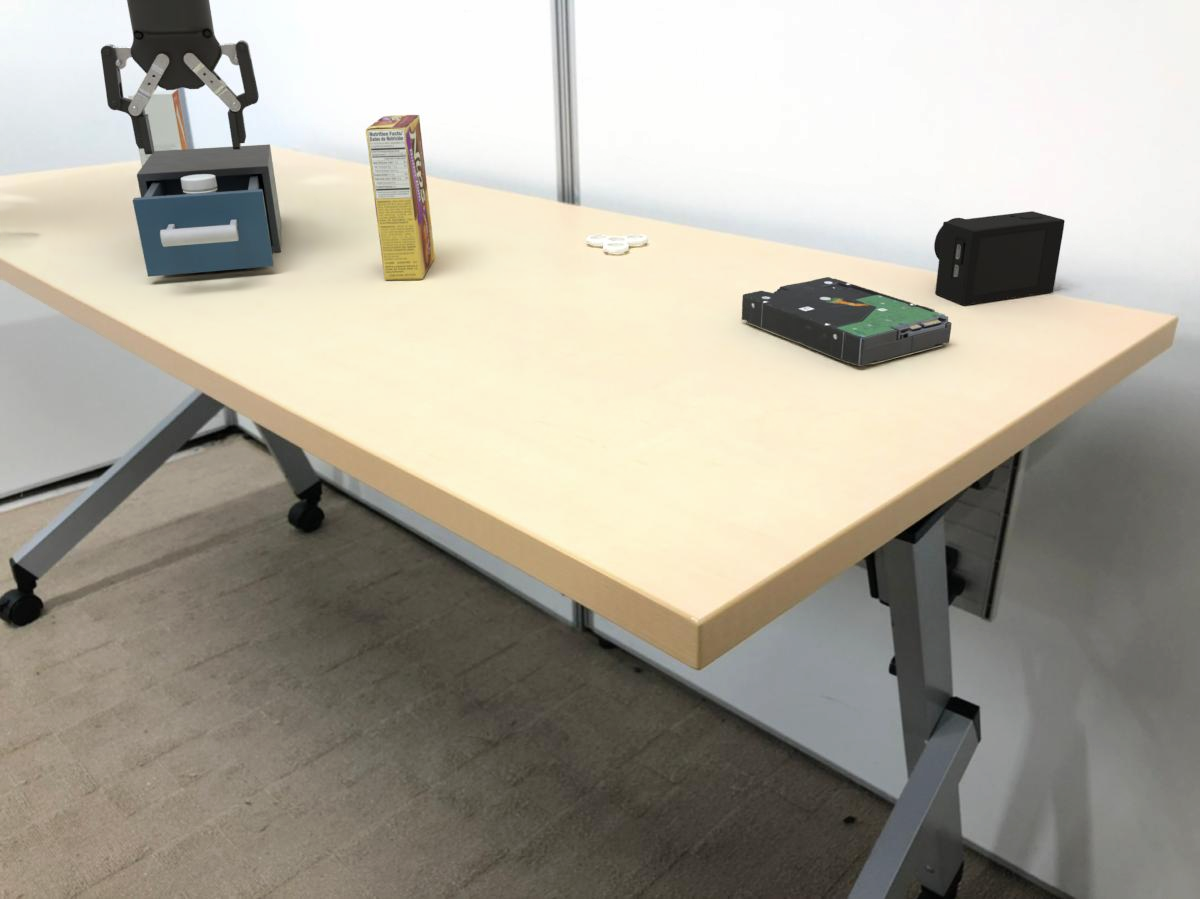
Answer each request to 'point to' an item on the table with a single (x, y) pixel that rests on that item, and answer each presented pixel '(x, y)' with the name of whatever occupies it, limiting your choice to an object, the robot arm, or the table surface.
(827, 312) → the disk drive
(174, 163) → the drawer cabinet
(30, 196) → the table surface
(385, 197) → the candy box
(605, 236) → the fidget spinner
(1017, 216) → the digital camera
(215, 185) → the pill bottle
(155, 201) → the blue drawer
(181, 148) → the small box
